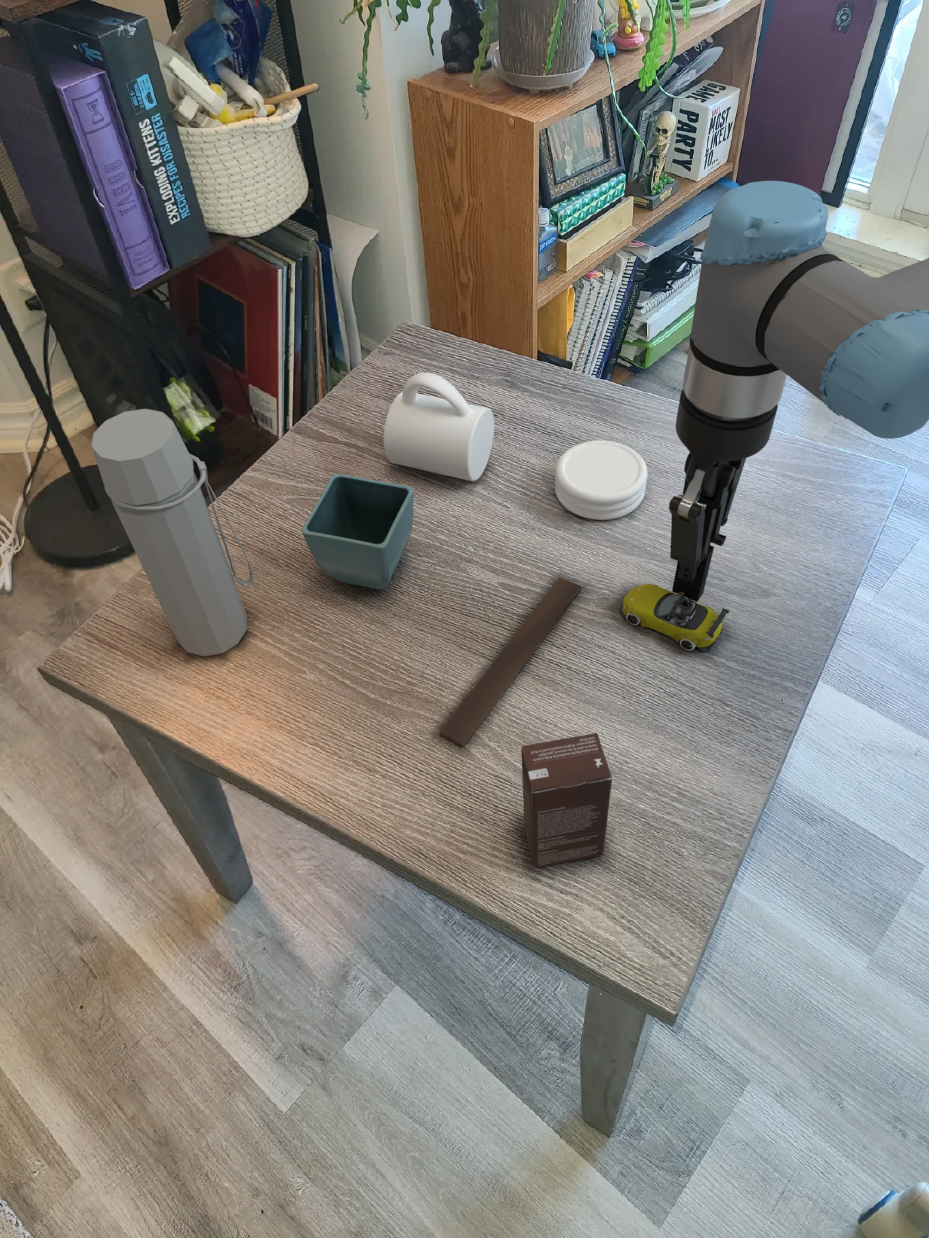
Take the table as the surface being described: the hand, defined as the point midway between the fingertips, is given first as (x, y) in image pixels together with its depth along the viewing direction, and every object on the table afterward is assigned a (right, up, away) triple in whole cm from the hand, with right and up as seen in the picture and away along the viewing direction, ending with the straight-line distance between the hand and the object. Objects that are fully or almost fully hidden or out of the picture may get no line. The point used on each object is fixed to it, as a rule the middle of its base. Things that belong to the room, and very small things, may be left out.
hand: (687, 592), depth 88 cm
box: (-14, -21, -14) cm, 29 cm away
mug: (-25, +15, +17) cm, 33 cm away
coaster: (-7, +12, +12) cm, 18 cm away
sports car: (-2, -3, 0) cm, 4 cm away
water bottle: (-46, -4, +2) cm, 47 cm away
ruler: (-17, -6, -2) cm, 19 cm away
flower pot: (-32, +2, +6) cm, 33 cm away
